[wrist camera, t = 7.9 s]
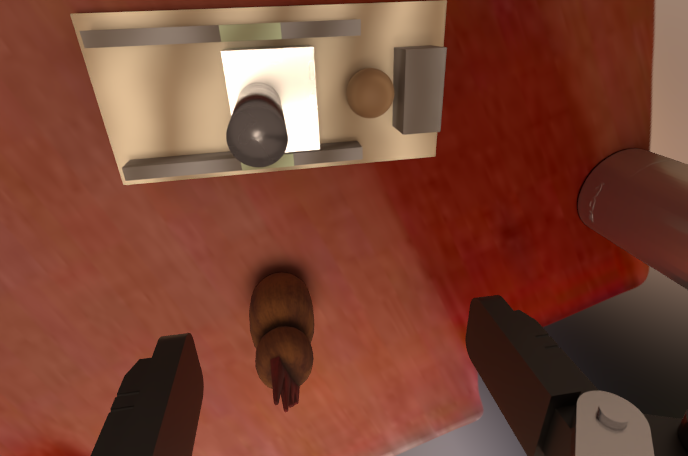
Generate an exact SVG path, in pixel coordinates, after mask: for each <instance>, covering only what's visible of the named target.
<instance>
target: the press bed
mask: <svg viewBox="0 0 688 456" xmlns="http://www.w3.org/2000/svg"><path fill="white" fill-rule="evenodd" d="M446 4H447V0H444V1H416V2H388V3H360V4H332V5H304V6H276V7H248V8H221V9H193V10H165V11H137V12H109V13H81V14H70V15H71V19H72V22H73V25H74V28H75V31H76V35H77V38H78V41H79V44H80V47H81V51H82V54H83V57H84V60H85V63H86V67H87V70H88V73H89V76H90V79H91V83H92V86H93V89H94V92H95V95H96V99H97V102H98V105H99V108H100V111H101V114H102V118H103V121H104V124H105V127H106V130H107V134H108V137H109V140H110V143H111V146H112V150H113V153H114V156H115V159H116V162H117V166H118V169H119V172H120V175H121V178H122V182H123V185H131V184H142V183H152V182H163V181H174V180H185V179H196V178H207V177H218V176H228V175H239V174H250V173H261V172H272V171H283V170H293V169H304V168H315V167H326V166H337V165H348V164H359V163H369V162H380V161H391V160H402V159H413V158H424V157H434V156H435V155H436V141H437V132H440V129H441V116H442V103H443V89H444V76H445V63H446V50H447V47H443V45H444V31H445V17H446ZM308 44H309V45H311V46H313V48H314V63H315V78H316V94H317V109H318V124H319V140H320V150H308V151H297V152H285V153H284V155H283V156H282V157H281V158H280V159H279V160H278V161H277V162H276V163H274V164H272V165H270V166H267V167H259V168H257V167H251V166H248V165H245V164H243V163H241V162H240V161H239V160H237V159H236V158H235V157H234V156H233V154H232V153H231V151H230V150H229V147H228V145H227V140H226V132H227V127H228V124H229V121H230V119H231V110H230V104H229V98H228V92H227V86H226V80H225V74H224V68H223V62H222V56H221V51H222V50H224V49H227V48H247V47H267V46H287V45H308ZM366 68H375V69H379V70H381V71H383V72H384V73H386V74H387V75H388V76H389V78H390V79H391V81H392V83H393V86H394V99H393V102H392V105H391V106H390V108H389V109H388V110H387V111H386V112H385V113H384V114H383V115H381V116H379V117H376V118H363V117H361V116H359V115H357V114H356V113H354V112H353V110H352V109H351V108H350V106H349V104H348V101H347V96H346V91H347V86H348V83H349V81H350V80H351V78H352V77H353V76H354V75H355V74H356V73H357V72H359V71H360V70H363V69H366Z"/></svg>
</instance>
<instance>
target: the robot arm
mask: <svg viewBox="0 0 688 456" xmlns="http://www.w3.org/2000/svg"><path fill="white" fill-rule="evenodd" d="M578 213H579V216H580V219H581V220H582V221H583V223H584V224H585V225H587V226H588V227H589V228H591V229H593V230H594V231H596V232H597V233H599V234H600V235H602V236H604V237H605V238H607V239H608V240H610V241H611V242H613V243H614V244H616V245H617V246H619V247H620V248H622V249H624V250H625V251H627V252H628V253H630V254H631V255H633V256H635V257H636V258H638V259H639V260H641V261H643V262H644V263H646V264H647V265H649V266H650V267H652V268H654V269H655V270H657V271H658V272H660V273H661V274H663V275H665V276H666V277H668V278H669V279H671V280H673V281H674V282H676V283H677V284H679V285H680V286H682V287H683V288H685V289H687V290H688V165H687V164H684V163H681V162H679V161H676V160H673V159H670V158H667V157H664V156H661V155H658V154H655V153H652V152H650V151H647V150H643V149H637V148H635V149H626V150H623V151H620V152H617V153H615V154H613V155H611V156H609V157H608V158H607V159H605V160H604V161H603V162H601V163H600V164H599V165H598V166H597V167H596V168H595V169H594V170H593V171H592V172H591V174H590V175H589V176H588V178H587V179H586V181H585V183H584V185H583V186H582V189H581V192H580V194H579V199H578ZM466 348H467V352H468V355H469V357H470V359H471V361H472V363H473V364H474V366H475V368H476V370H477V371H478V373H479V375H480V376H481V378H482V380H483V381H484V383H485V385H486V386H487V388H488V390H489V391H490V393H491V395H492V396H493V398H494V400H495V401H496V403H497V405H498V407H499V408H500V410H501V412H502V414H503V415H504V417H505V419H506V420H507V422H508V424H509V425H510V427H511V429H512V430H513V432H514V434H515V436H516V437H517V439H518V441H519V442H520V444H521V445H522V447H523V449H524V451H525V452H526V454H527V456H688V410H687V412H686V414H685V415H684V417H683V419H677V418H669V417H662V416H654V415H647V414H642V413H641V412H640V411H639V410H638V409H637V408H636V407H635V406H634V405H632V404H631V403H630V402H628V401H627V400H625V399H623V398H621V397H619V396H617V395H614V394H612V393H608V392H604V391H599V390H598V389H597V388H596V387H595V386H594V385H593V383H591V381H590V380H589V379H588V378H587V377H586V376H585V375H584V374H583V373H582V371H581V370H580V369H579V368H578V367H577V366H576V365H575V364H574V362H573V361H572V360H571V359H570V358H569V357H568V356H567V354H566V353H565V352H564V351H563V350H562V349H561V348H559V347H558V344H557V343H556V342H555V341H554V340H553V339H552V338H551V337H549V336H548V333H547V332H546V331H545V330H544V329H543V327H542V326H541V325H540V324H539V323H538V322H537V321H536V320H535V319H533V318H531V317H530V316H528V315H527V314H525V313H523V312H522V311H520V310H516V311H513V309H512V308H511V307H510V306H509V305H508V304H507V302H506V301H505V300H504V299H503V298H502V297H501V296H499V295H494V296H486V297H478V298H473V299H472V301H471V304H470V311H469V318H468V325H467V332H466ZM203 387H204V386H203V375H202V370H201V367H200V363H199V359H198V355H197V352H196V348H195V344H194V340H193V337H192V335H191V334H190V333H186V334H178V335H170V336H162V337H160V338H159V340H158V342H157V345H156V348H155V350H154V353H153V356H152V358H146V359H139V361H138V362H137V363H136V364H135V365H134V366H133V367H132V368H131V369H130V371H129V372H128V373H127V374H126V375H125V376H124V379H123V381H122V383H121V386H120V388H119V390H118V393H117V397H115V400H114V402H113V404H112V407H111V412H110V413H109V414H108V416H107V419H106V421H105V423H104V426H103V428H102V430H101V433H100V435H99V437H98V440H97V442H96V444H95V447H94V449H93V451H92V454H91V456H192V451H193V446H194V441H195V436H196V430H197V425H198V420H199V415H200V409H201V404H202V399H203Z"/></svg>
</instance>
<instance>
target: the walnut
mask: <svg viewBox="0 0 688 456" xmlns="http://www.w3.org/2000/svg"><path fill="white" fill-rule="evenodd" d="M346 96H347V101H348V104H349V106H350V108H351V109H352V110H353V112H354V113H356V114H357V115H359V116H361V117H363V118H376V117H379V116H381V115H383V114H384V113H385V112H386V111H387V110H388V109H389V108H390V106H391V105H392V102H393V99H394V86H393V83H392V81H391V79H390V78H389V76H388V75H387V74H386V73H384V72H383V71H381V70H379V69H375V68H366V69H363V70H360V71H359V72H357V73H356V74H355V75H354V76H353V77H352V78H351V80H350V81H349V83H348V86H347V91H346Z"/></svg>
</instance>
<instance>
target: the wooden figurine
mask: <svg viewBox="0 0 688 456" xmlns="http://www.w3.org/2000/svg"><path fill="white" fill-rule="evenodd" d="M249 318H250V332H251V336H252V340H253V343H254V346H255V348H256V360H255V362H256V370H257V373H258V375H259V378H260V379H261V380H262V381H263V383H264V384H265V385H266V386H267V387H269V388H272V389H273V399H274V404H275V405H278V404H279V399H280V394H281V398H282V403H283V408H284V411H285V412H287V411H288V406H289V407H293V406H294V405H296V404H298V401H299V388H300V385H301V384H302V383H304V382H305V381H306V380H307V378H308V377H309V375H310V373H311V370H312V365H313V351H312V347H311V341H312V338H313V334H314V314H313V306H312V301H311V297H310V294H309V291H308V289H307V287H306V285H305V284H304V283H303V281H301V280H300V279H299V278H297V277H296V276H294V275H292V274H289V273H274V274H271V275H269V276H267V277H265V278H264V279H263V280H262V281H261V282H260V283H259V284H258V285H257V286H256V288H255V290H254V291H253V294H252V298H251V303H250V310H249Z"/></svg>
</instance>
